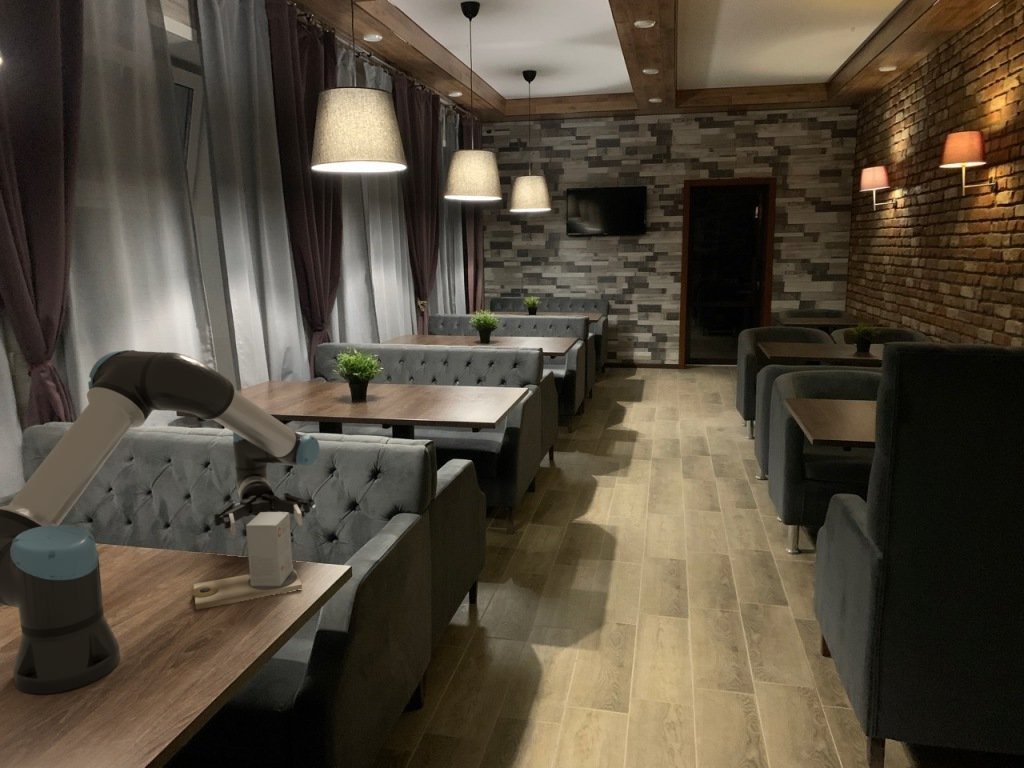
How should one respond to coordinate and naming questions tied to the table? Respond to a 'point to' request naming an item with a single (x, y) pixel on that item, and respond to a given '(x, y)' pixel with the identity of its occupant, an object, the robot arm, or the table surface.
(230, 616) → the table surface
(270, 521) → the small box
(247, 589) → the board
